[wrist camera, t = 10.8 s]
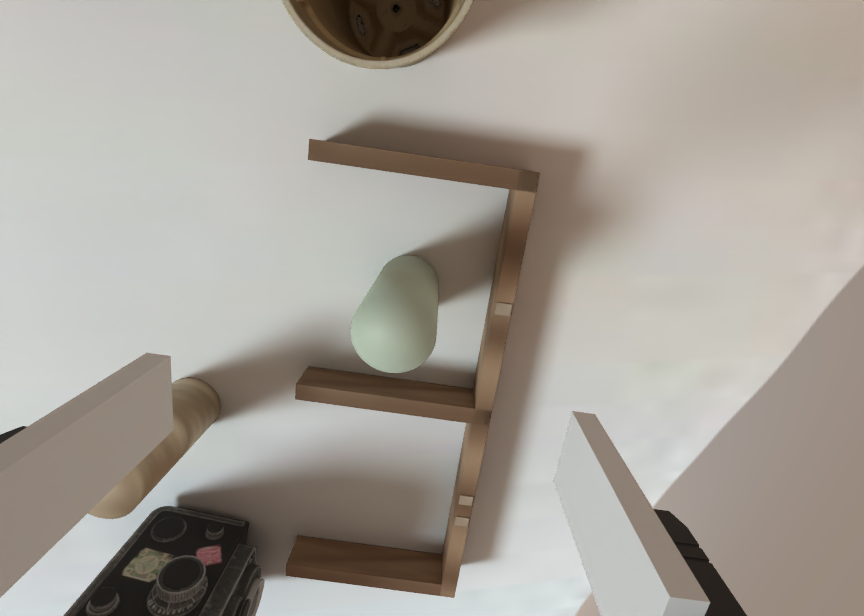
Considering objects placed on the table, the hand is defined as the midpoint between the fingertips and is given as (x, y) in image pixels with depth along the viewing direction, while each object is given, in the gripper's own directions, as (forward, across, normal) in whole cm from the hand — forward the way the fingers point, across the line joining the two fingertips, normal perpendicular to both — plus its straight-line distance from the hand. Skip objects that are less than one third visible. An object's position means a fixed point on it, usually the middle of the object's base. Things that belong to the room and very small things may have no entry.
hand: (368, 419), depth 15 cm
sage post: (+18, 0, 0) cm, 19 cm away
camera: (+19, -14, -26) cm, 35 cm away
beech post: (+18, -16, -12) cm, 27 cm away
